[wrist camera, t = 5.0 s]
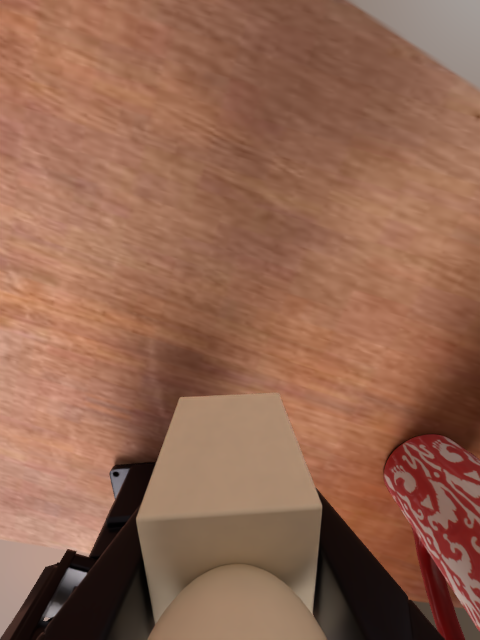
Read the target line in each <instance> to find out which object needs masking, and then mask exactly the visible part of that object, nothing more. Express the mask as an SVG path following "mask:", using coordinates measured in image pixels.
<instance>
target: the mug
mask: <svg viewBox="0 0 480 640" xmlns="http://www.w3.org/2000/svg"><path fill="white" fill-rule="evenodd" d="M384 481H385V484H386V487H387V488H388V490H389V492H390V494H391V495H392V497H393V498H394V500H395V501H396V503H397V504H398V506H399V507H400V509H401V510H402V512H403V513H404V515H405V516H406V518H407V520H408V521H409V523H410V524H411V526H412V530H413V533H414V539H415V544H416V551H417V555H418V560H419V564H420V569H421V573H422V577H423V581H424V585H425V589H426V592H427V596H428V599H429V604H430V606H431V610H432V613H433V617H434V620H435V623H436V626H437V630H438V632H439V633H440V634H441V635H442V636H443V638H444V639H445V640H465V638H464V635H463V632H462V630H461V627H460V625H459V622H458V619H457V616H456V613H455V610H454V606H453V603H452V600H451V597H450V594H449V591H448V588H447V583H446V580H447V582H448V583H449V585H450V586H451V588H452V589H453V591H454V592H455V594H456V596H457V597H458V599H459V600H460V602H461V603H462V605H463V607H464V608H465V610H466V611H467V613H468V614H469V616H470V617H471V619H472V621H473V622H474V624H475V625H476V627H477V628H478V630H479V632H480V460H479V459H478V458H477V457H475V456H474V455H473V454H471V453H470V452H468V451H467V450H465V449H464V448H463V447H461V446H460V445H458V444H457V443H455V442H454V441H452V440H451V439H449V438H447V437H445V436H441V435H436V434H427V435H421V436H417V437H414V438H412V439H410V440H408V441H406V442H404V443H403V444H401V445H400V446H399V447H398V448H397V449H396V450H395V451H394V452H393V453H392V454H391V455H390V457H389V458H388V460H387V462H386V465H385V469H384ZM445 579H446V580H445Z"/></svg>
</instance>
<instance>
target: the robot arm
mask: <svg viewBox="0 0 480 640" xmlns="http://www.w3.org/2000/svg"><path fill="white" fill-rule="evenodd" d="M155 465H156V462H152V463H138V464H124V465H115V466H113V468H112V470H111V471H110V478H111V483H112V487H113V492H114V497H115V501H114V503H113V505H112V507H111V509H110V512H109V514H108V516H107V518H106V521H105V523H104V525H103V528H102V530H101V532H100V534H99V536H98V538H97V540H96V542H95V545H94V547H93V549H92V551H91V553H90V555H89V557H86V556H83V555H79V554H76V552H77V551H73V550H70V549H67V551H66V553H65V555H64V556H63V558H62V560H61V561H60V563H57V564H54V565H51V566H48V567H45V569H44V570H43V572H42V574H41V575H40V577H39V579H38V580H37V582H36V584H35V585H34V587H33V589H32V590H31V592H30V594H29V595H28V597H27V599H26V600H25V602H24V604H23V605H22V607H21V608H20V610H19V611H18V613H17V615H16V616H15V618H14V619H13V621H12V623H11V624H10V625H9V626H8V628H7V629H6V631H5V632H4V634H3V636H2V637H1V639H0V640H147V639H148V637H149V635H150V633H151V631H152V630H153V628H154V626H155V621H154V616H153V610H152V605H151V599H150V594H149V588H148V583H147V578H146V572H145V567H144V561H143V556H142V550H141V545H140V540H139V534H138V529H137V523H136V517H137V515H138V512H139V509H140V506H141V504H142V501H143V498H144V495H145V492H146V490H147V487H148V484H149V481H150V479H151V476H152V473H153V470H154V467H155ZM315 488H316V487H315ZM316 491H317V493H318V496H319V499H320V501H321V504H322V516H321V528H320V539H319V550H318V561H317V572H316V583H315V594H314V606H313V615H314V617H315V619H316V621H317V622H318V624H319V626H320V627H321V629H322V631H323V632H324V634H325V636H326V638H327V640H445V639H444V638H443V636H442V635H441V634H440V633H439V632H438V631H437V630H436V628H435V627H434V626H433V625H432V624H431V623H430V622H429V620H428V619H427V618H426V617H425V616H424V615H423V613H422V612H421V611H420V610H419V609H418V607H417V606H416V605H415V604H414V603H413V601H412V600H408V596H407V595H406V593H405V592H404V591H403V590H402V589H401V587H400V586H399V585H398V584H397V583H396V582H395V580H394V579H393V578H392V577H391V576H390V575H389V573H388V572H387V571H386V570H385V569H384V567H383V566H382V565H381V564H380V563H379V562H378V560H377V559H376V558H375V557H374V556H373V554H372V553H371V552H370V551H369V550H368V549H367V547H366V546H365V545H364V544H363V543H362V541H361V540H360V539H359V538H358V537H357V536H356V534H355V533H354V532H353V531H352V530H351V528H350V527H349V526H348V525H347V524H346V523H345V521H344V520H343V519H342V518H341V517H340V516H339V514H338V513H337V512H336V511H335V510H334V508H333V507H332V506H331V505H330V504H329V503H328V501H327V500H326V499H325V498H324V497H323V495H322V494H321V493H320V492H319V491H318V490H317V488H316ZM45 617H48V618H50V619H49V620H48V621H43V620H44V618H45Z"/></svg>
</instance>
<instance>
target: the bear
mask: <svg viewBox="0 0 480 640" xmlns="http://www.w3.org/2000/svg"><path fill="white" fill-rule="evenodd" d="M321 516H322V504H321V501H320V499H319V496H318V493H317V491H316V488H315V485H314V483H313V480H312V478H311V475H310V472H309V470H308V467H307V465H306V462H305V459H304V457H303V454H302V452H301V449H300V446H299V444H298V441H297V439H296V436H295V433H294V431H293V428H292V426H291V423H290V420H289V418H288V415H287V413H286V410H285V407H284V405H283V402H282V400H281V397H280V394H279V393H258V394H237V395H216V396H195V397H180V398H179V401H178V404H177V406H176V409H175V412H174V415H173V417H172V420H171V423H170V426H169V429H168V431H167V434H166V437H165V440H164V442H163V445H162V448H161V451H160V454H159V456H158V459H157V462H156V465H155V467H154V470H153V473H152V476H151V479H150V481H149V484H148V487H147V490H146V492H145V495H144V498H143V501H142V504H141V506H140V509H139V512H138V515H137V517H136V523H137V529H138V534H139V540H140V545H141V550H142V556H143V561H144V567H145V572H146V578H147V583H148V588H149V594H150V599H151V605H152V610H153V616H154V621H155V626H154V628H153V630H152V631H151V633H150V635H149V637H148V639H147V640H327V638H326V636H325V634H324V632H323V631H322V629H321V627H320V626H319V624H318V622H317V621H316V619H315V617H314V616H313V606H314V594H315V583H316V572H317V561H318V550H319V539H320V528H321Z"/></svg>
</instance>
